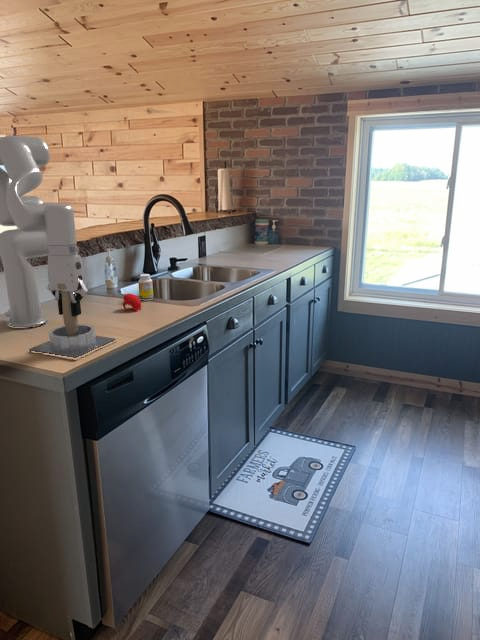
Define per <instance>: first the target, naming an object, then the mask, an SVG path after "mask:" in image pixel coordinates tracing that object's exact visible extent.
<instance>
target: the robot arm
mask: <svg viewBox="0 0 480 640" xmlns="http://www.w3.org/2000/svg"><path fill="white" fill-rule="evenodd" d="M50 158H51V153H50V149H49V146H48V145H47V143H46V141H44V139H43V138H41V137H38V136H23V135H5V136H0V166H3V167H4V169H3V168H2V167H0V226H3V227H17V229H16V228H15V229H14V228H13V229H8V230H4V231H1V232H0V259H1V263H2V267H3V272H4V277H5V278H4V280H5V284H6V290H7V298H8V303H9V304H8V305H9V308H8V310H7V311H6V312H4V316H5V317H9V320H8V321H7V322H6V325H7V324H8V325H10V326H13V327H33V326H37V327H39V326H38V325H41V324H43V325H45V324H46V323H45V322H47V323H48V317H46V316H45V315H43V314H42V313H43V312H42V307H41V298H40V291H39V283H38V276H37V271H36V269H35V268H34V266H33V265H32V264H31V263H30V262H29V261H28V259H31V258H32V259H33V258H41V257H46V256H47V279H48V286H47V290H48V291H49V292H50V293H51V294H52V295H53V297H54V299H55V301H56V302H57V309H58V314H59V315H60V316H63V307H62V293H61V291H65V292H70V296H71V300H72V303H71V313H72V316H73V317H75V316H80V315H82V307H81V302H82V300H83V299H84V297H85V296H86V295H87V294H88V293H89V289H88V288H87V277H86V273H85V272H86V271H85V267H84V263H83V260H82V257H81V255H80V254H78V253H79V252H80V248H79V247H78V245H77V241H78V240H77V234H76V223H75V213H74V209H73V207H72V205H69V204H61V203H59V202H44V201H43V199H42V198H40V197H39V196H37V195H26V194H27V193H30V192H32V191H33V190H35V189H37V188H39V186H40V185H41V184H42V181H43V173H42V171H41V170H40V168H39V167H44V166H47V165H48V164H49V161H50ZM57 284H65V285H66V287H67V289H65V290H60V289H58V287H57ZM59 287H60V288H61V286H59ZM9 323H11V324H9ZM44 323H45V324H44ZM41 326H42V325H41ZM33 328H34V327H33Z"/></svg>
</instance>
